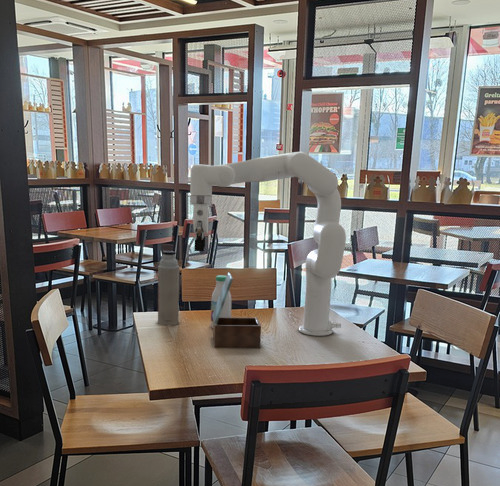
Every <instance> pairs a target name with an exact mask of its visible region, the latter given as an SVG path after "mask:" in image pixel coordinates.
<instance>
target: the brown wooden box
mask: <svg viewBox="0 0 500 486" xmlns="http://www.w3.org/2000/svg"><path fill="white" fill-rule="evenodd" d="M261 338H262V325H261V323H260V321H259V318H258V317H233V316H231V317H219V319H218V322H217V324H214V321H213V328H212V341H213V346H214V349H227V348H228V349H261V340H262V339H261Z"/></svg>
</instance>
